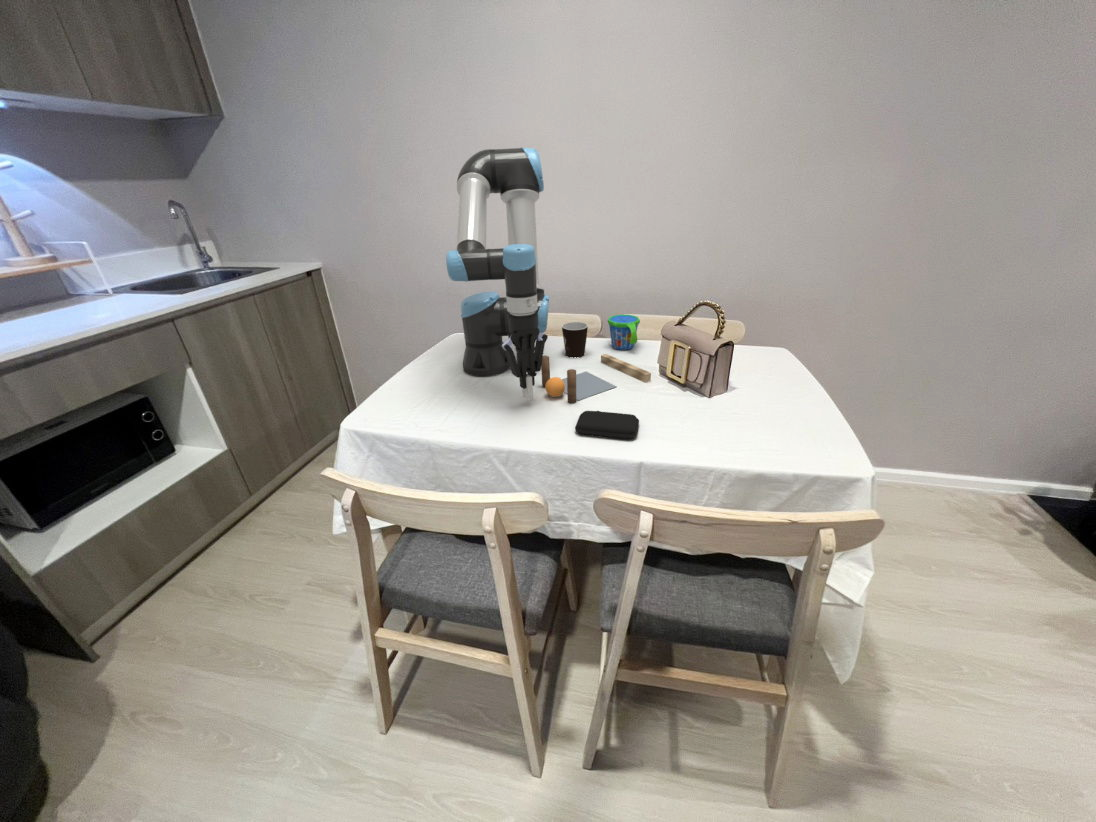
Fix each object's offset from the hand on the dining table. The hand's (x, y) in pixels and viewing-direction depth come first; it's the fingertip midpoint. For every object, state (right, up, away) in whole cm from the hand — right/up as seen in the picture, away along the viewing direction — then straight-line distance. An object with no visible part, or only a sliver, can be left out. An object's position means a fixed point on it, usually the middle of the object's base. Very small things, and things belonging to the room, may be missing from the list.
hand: (528, 397), depth 124 cm
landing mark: (+15, +4, +10) cm, 19 cm away
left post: (+5, +4, +10) cm, 12 cm away
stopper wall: (+29, +9, +18) cm, 35 cm away
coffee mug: (+15, +16, +33) cm, 40 cm away
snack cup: (+31, +19, +37) cm, 52 cm away
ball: (+7, +3, +3) cm, 9 cm away
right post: (+12, -1, +1) cm, 12 cm away
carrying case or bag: (+20, -8, -11) cm, 24 cm away
